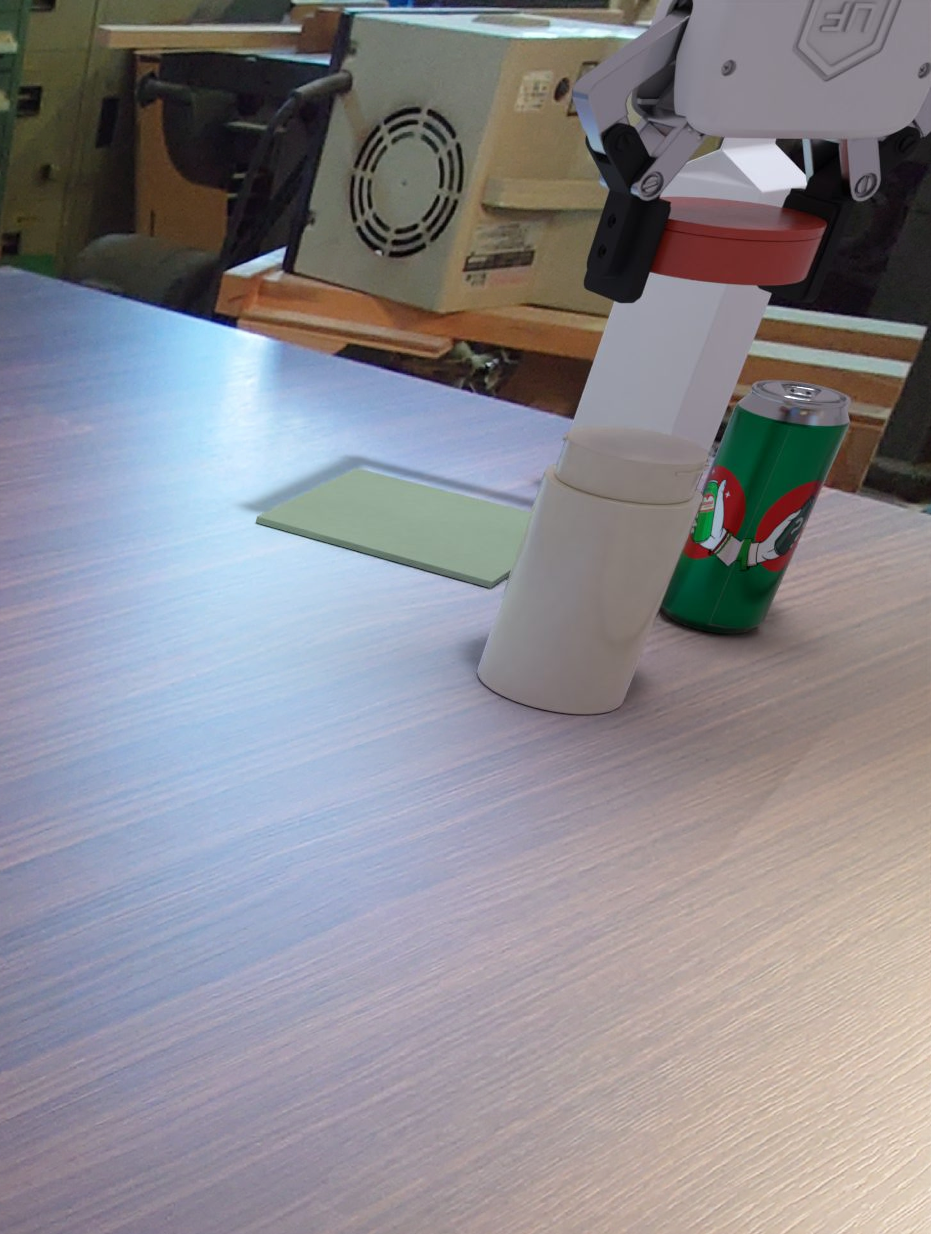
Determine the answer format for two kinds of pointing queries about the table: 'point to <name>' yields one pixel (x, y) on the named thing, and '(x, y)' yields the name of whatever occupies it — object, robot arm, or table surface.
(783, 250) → the lid
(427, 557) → the mat
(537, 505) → the jar
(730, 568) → the soda can
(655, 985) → the table surface
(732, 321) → the milk
